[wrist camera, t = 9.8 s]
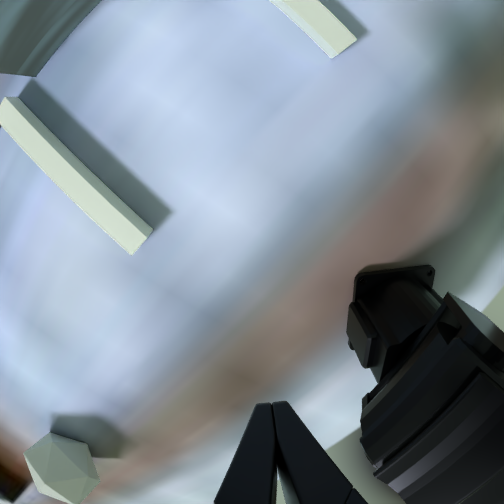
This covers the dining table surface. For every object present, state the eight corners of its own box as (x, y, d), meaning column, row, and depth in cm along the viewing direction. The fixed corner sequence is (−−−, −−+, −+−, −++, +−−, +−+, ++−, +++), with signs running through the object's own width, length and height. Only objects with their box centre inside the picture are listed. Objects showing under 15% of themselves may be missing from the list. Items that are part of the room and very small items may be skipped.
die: (49, 446, 31) (74, 511, 25) (5, 433, 24) (29, 512, 18) (93, 428, 33) (123, 497, 27) (50, 413, 26) (81, 499, 20)
